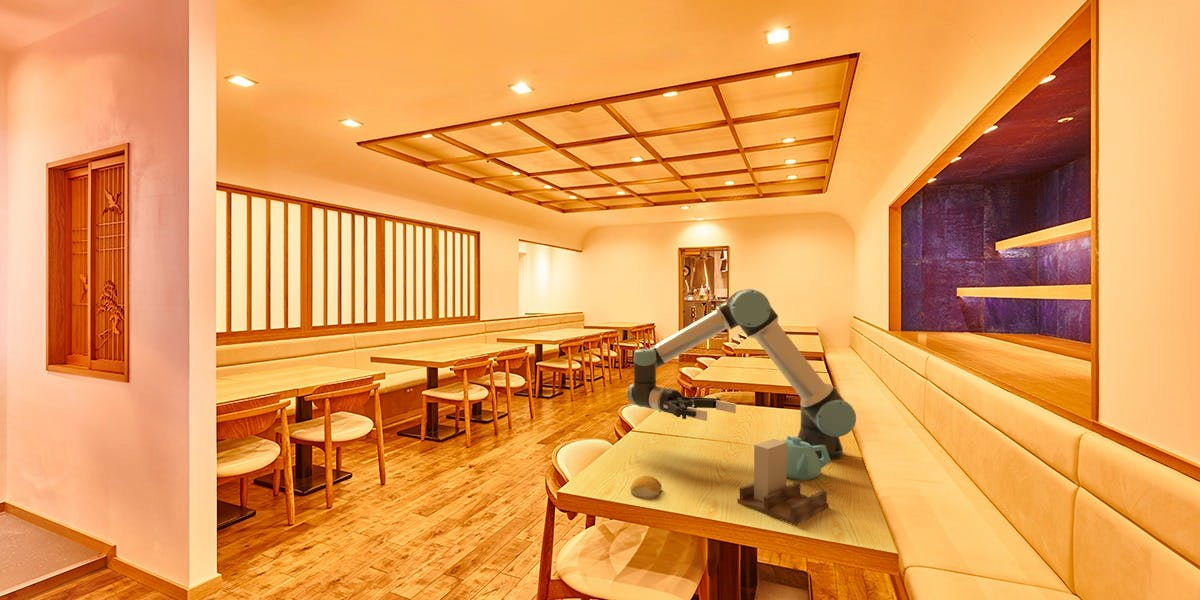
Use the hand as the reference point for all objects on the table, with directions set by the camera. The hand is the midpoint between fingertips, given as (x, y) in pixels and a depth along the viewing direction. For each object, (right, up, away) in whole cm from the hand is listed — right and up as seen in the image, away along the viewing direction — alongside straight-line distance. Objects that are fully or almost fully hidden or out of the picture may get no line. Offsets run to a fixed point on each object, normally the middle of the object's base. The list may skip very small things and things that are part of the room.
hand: (721, 412), depth 139 cm
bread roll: (-22, -21, -7) cm, 31 cm away
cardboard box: (+10, -19, -12) cm, 25 cm away
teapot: (+25, -21, +8) cm, 33 cm away
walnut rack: (+12, -21, -15) cm, 28 cm away
